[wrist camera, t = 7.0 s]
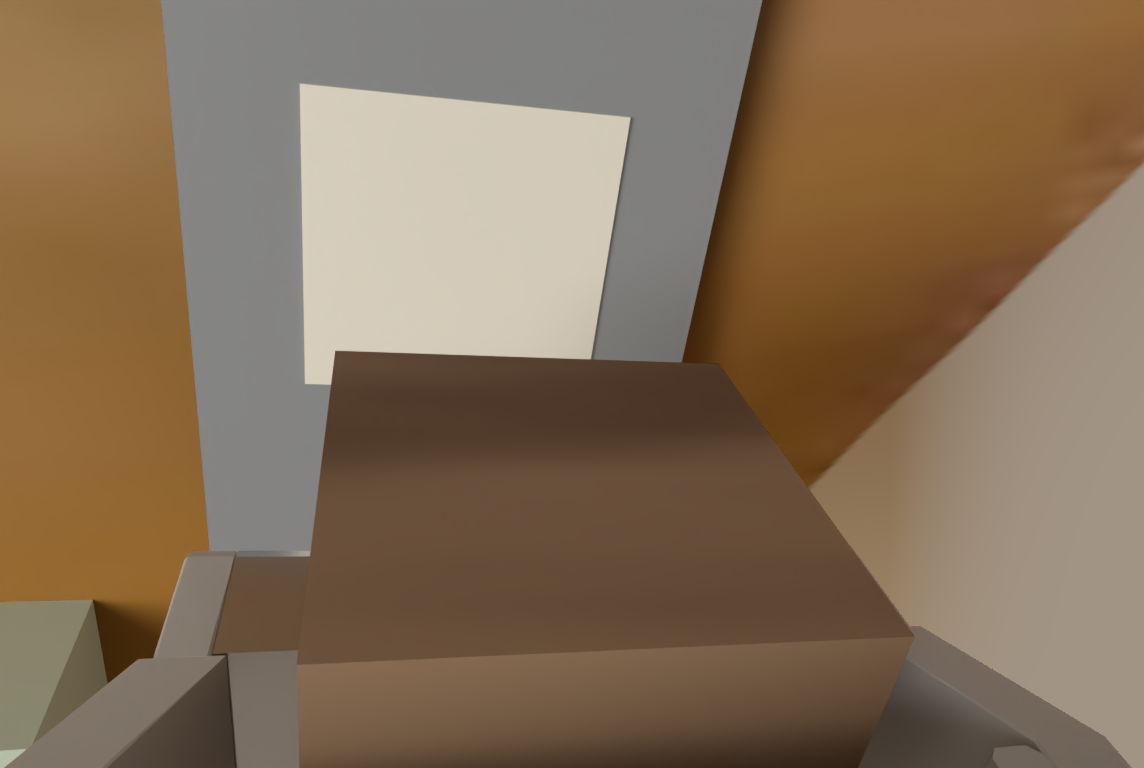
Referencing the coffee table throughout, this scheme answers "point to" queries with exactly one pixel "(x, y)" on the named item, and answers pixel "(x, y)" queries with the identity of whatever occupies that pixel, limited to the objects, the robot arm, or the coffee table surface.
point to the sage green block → (45, 668)
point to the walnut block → (576, 577)
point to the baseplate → (430, 202)
